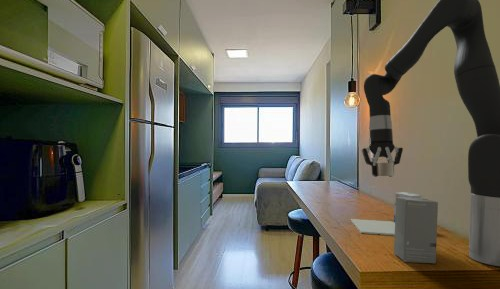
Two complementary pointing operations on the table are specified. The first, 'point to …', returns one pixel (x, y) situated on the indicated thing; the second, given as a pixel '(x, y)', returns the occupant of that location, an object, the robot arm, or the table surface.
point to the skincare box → (416, 230)
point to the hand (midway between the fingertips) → (383, 176)
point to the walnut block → (385, 169)
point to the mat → (374, 227)
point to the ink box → (404, 194)
